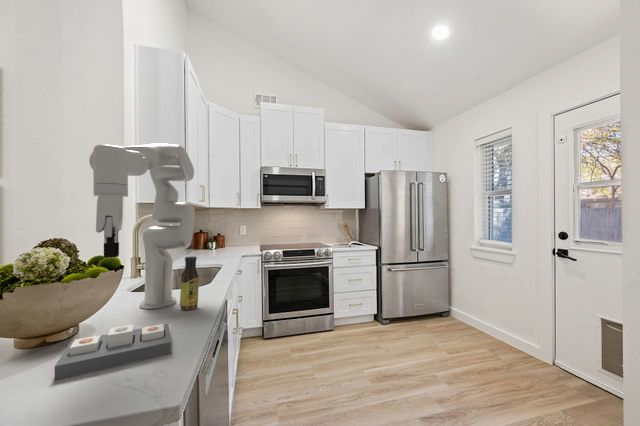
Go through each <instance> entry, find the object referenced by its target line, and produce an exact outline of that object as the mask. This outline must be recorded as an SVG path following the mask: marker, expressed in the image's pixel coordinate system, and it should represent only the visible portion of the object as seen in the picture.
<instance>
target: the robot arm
mask: <svg viewBox="0 0 640 426" xmlns="http://www.w3.org/2000/svg"><path fill="white" fill-rule="evenodd" d="M88 161H89V166H90V168H91V169H92V170H93V172H92V174H93V177H92V178H93V188H92V189H93V196H94V197H97V202H96V218H95V220H96V222H95V232H96V233H97V234H100V233H102V232H103V238H104V239H103V240H104V241H103V258H105V259H106V258H107V259H109V258H118V257H119V256H120V241H119V232H120V231H122V228H123V218H124V217H123V216H124V203H123V202H124V200H123V199H124V197H126V198H127V197H129V177H138V176H143V175H145V174H146V173H147V171H148V170H149V175H150V177H151V180H152V183H153V185H154V188H155V197H154V203H153V207H152V213H151V214H152V216H151V217H152V221H153V223H156V224H158V225H151V226H149V227H146V229H145V230H144V231H143V233H142V240H143V247H144V255H145V260H144V261H145V263H144V264H145V265H144V266H145V267H144V300H142V301H141V302H140V303H139V307H140V308H142V309H145V310H150V309H151V310H154V309H161V308H166V307H169V306H172V305H174V304H176V302H177V298H176V297H173V270H174V269H173V266H174V265H173V264H174V263H173V262H174V260H173V257H172V255H171V254H170V253H169V251H168V250H183V249H187V248H190V246H191V244H192V240H193V233H194V224H195V218H196V217H195V215H196V214H195V207H194V206H193V204H192V203H190V202H185V201H178V200H179V191H178V190H177V188H176V187H175V186H174V185H173V184H172V183H171V182H189V181H192V179H194V175H195V168H194V165H193V163H192V161H191V159H190V157H189V154H188V152H187V151H186V149H185V148H184V147H183V146H182V145H180V144H172V143H169V144H168V143H159V142H158V143H156V142H155V143H150V144H149V143H148V144H140V145H130V146H129V145H128V146H119V145H111V144H96V145H95V146H94V147H93V150H92V152H91V154H90V156H89V159H88Z"/></svg>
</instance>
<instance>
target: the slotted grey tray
mask: <svg viewBox="0 0 640 426" xmlns="http://www.w3.org/2000/svg"><path fill="white" fill-rule="evenodd" d="M163 326H164V337H162V338H157V339H152V340H147V341H142V328H143V327H141V328H136V329H134V335H133V343H132V344H127V345H122V346H117V347H112V348H108V334H109V333H107V334H101V345H100V349H99V350H97V351H92V352H86V353H81V354H76V355H71V356H70V347H71V345H72V344H73V342H74V340H75V339H73V340H70V342H69V344H68V345H67V347H66V348H65V350H64V352H62V354H61V356H60V358H59V359H58V361H57V362H56V364H55V365H54V377H53V379H54V381H58V380H61V379H65V378H71V377H74V376H80V375H83V374H87V373H92V372H96V371H100V370H105V369H109V368H113V367H118V366H123V365H127V364H132V363H135V362H140V361H144V360H148V359H154V358H157V357H158V358H159V357H162V356H167V355H170V354H172V339H171V332H170V326H169V323H163Z"/></svg>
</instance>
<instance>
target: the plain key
mask: <svg viewBox="0 0 640 426" xmlns="http://www.w3.org/2000/svg"><path fill="white" fill-rule="evenodd" d="M134 326H135V325H134V324H128V325H123V326H115V327H110V329H109V332H108V333H107V334H108V348H112V347H117V346H122V345H127V344H132V343H133V335H134V328H135V327H134Z"/></svg>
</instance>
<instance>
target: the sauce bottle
mask: <svg viewBox="0 0 640 426" xmlns="http://www.w3.org/2000/svg"><path fill="white" fill-rule="evenodd" d="M184 261H185V265H184V266H185V267H184V270H183V272H182V274H181V276H180V277H181V279H180V280H181V281H180V297H179V305H180V311H185V312H187V311H192V310H193V311H194V310H195V309H197V308H198V303H199V288H200V287H199V285H200V284H199V283H200V277H199V273H198V271H197V256H185V257H184Z"/></svg>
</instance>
